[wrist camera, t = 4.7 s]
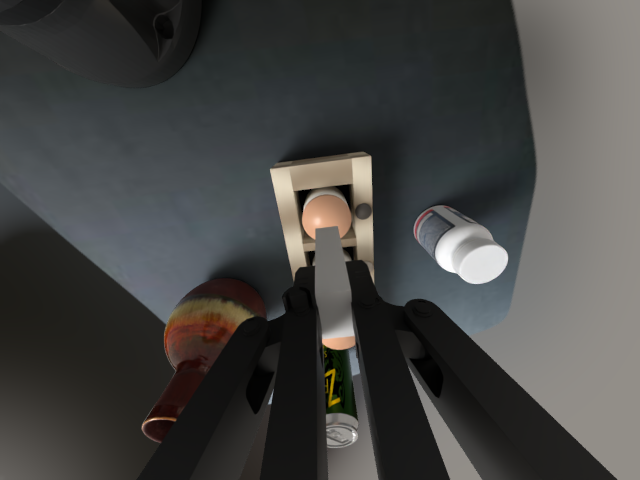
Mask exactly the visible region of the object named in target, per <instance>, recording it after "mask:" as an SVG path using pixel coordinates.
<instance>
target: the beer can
mask: <svg viewBox="0 0 640 480" xmlns="http://www.w3.org/2000/svg"><path fill="white" fill-rule="evenodd" d="M323 349H324V375H325V403H326V431H327V447H330V448H340V447H345V446H348V445H351V444H352V443H354V442H355V441H356V440H357V438H358V432H357V430H358V426H359V422H358V415H357V408H356V401H355V394H354V386H353V380H352V372H351V365H350V358H349V351H348V349H343V350H336V349H331V348H329V347H327V346H325V345H323Z"/></svg>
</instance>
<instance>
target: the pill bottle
mask: <svg viewBox="0 0 640 480" xmlns="http://www.w3.org/2000/svg"><path fill="white" fill-rule="evenodd" d="M414 235H415V238H416V239H417V241H418V242H419V243H420V244H421V245H422V246H423V247H424V248H425V250H426V251H427V252H428V253H429V254H430V255H431V256H432V257H433V258H434V260H435V261H436V262H437V263H438V264H439V265H440V266H441V267H442V268H444V269H445V270H447V271H449V272H453V273H457V274H458V275H459V276H460V277H461V278H462V279H464V280H465V281H466V282H469V283H473V284H481V283H485V282H488V281H491V280H493V279H494V278H496V277H497V276H498V275H500V274H501V273H502V271H503V270H504V269H505V267H506V265H507V262H508V255H507V252H506V251H505V249H504V248H502V247H501V246H500V245H498V244H497V243H496V242H494V241H493V238H492V235H491V233H490V232H489V231H488V230H487V229H486V228H485V227H483V226H482V225H480V224H478V223H477V222H475V221H473V220H472V219H470V218H468V217H467V216H465V215H463V214H461V213H460V212H458V211H456V210H454V209H453V208H451V207H448V206H443V205H439V206H434V207H431V208H429V209H427V210H425V211H424V212H422V213H421V214H420V216H419V217H418V218H417V220H416V222H415V225H414Z"/></svg>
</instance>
